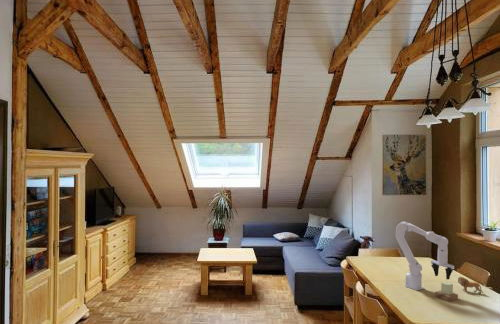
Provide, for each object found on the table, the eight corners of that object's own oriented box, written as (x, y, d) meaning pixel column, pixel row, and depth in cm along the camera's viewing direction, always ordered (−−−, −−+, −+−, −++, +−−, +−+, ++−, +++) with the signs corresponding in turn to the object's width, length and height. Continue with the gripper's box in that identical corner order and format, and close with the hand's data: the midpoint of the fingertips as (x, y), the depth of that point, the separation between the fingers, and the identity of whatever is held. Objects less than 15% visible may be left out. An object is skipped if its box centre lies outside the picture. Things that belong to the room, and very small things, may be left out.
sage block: (441, 292, 230) (441, 282, 230) (445, 291, 232) (445, 281, 232) (448, 294, 226) (448, 285, 226) (452, 293, 228) (452, 284, 228)
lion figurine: (458, 291, 241) (458, 277, 241) (457, 288, 246) (457, 275, 246) (484, 294, 236) (484, 280, 236) (482, 292, 241) (483, 278, 241)
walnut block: (434, 297, 231) (435, 291, 231) (444, 295, 235) (444, 289, 235) (448, 302, 223) (448, 296, 223) (457, 300, 227) (458, 294, 227)
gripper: (457, 258, 234) (456, 279, 234) (435, 253, 246) (435, 273, 246) (450, 259, 230) (450, 281, 230) (429, 254, 243) (428, 274, 243)
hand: (442, 277), depth 238 cm, fingers open, 7 cm apart
